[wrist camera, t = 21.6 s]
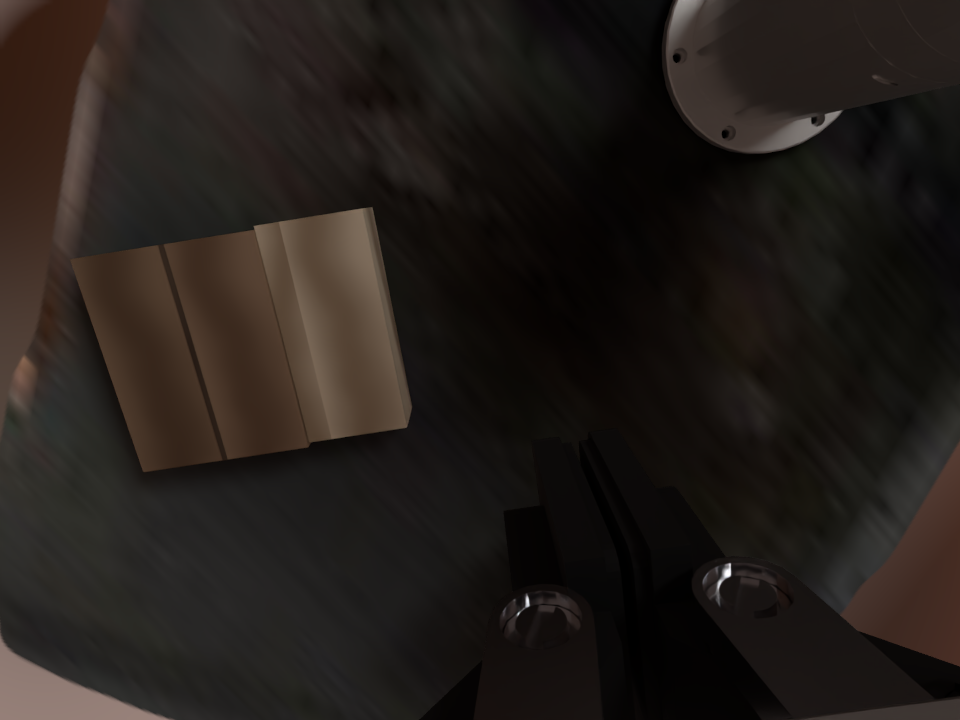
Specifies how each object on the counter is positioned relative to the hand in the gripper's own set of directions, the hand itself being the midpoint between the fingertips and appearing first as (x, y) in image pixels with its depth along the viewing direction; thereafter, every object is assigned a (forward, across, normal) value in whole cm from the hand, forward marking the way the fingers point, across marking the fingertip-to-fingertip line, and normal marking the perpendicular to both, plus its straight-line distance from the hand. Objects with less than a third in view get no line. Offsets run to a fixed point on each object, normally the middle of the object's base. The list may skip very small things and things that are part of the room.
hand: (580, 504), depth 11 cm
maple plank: (+29, +10, +1) cm, 31 cm away
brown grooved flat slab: (+29, +20, +1) cm, 35 cm away
